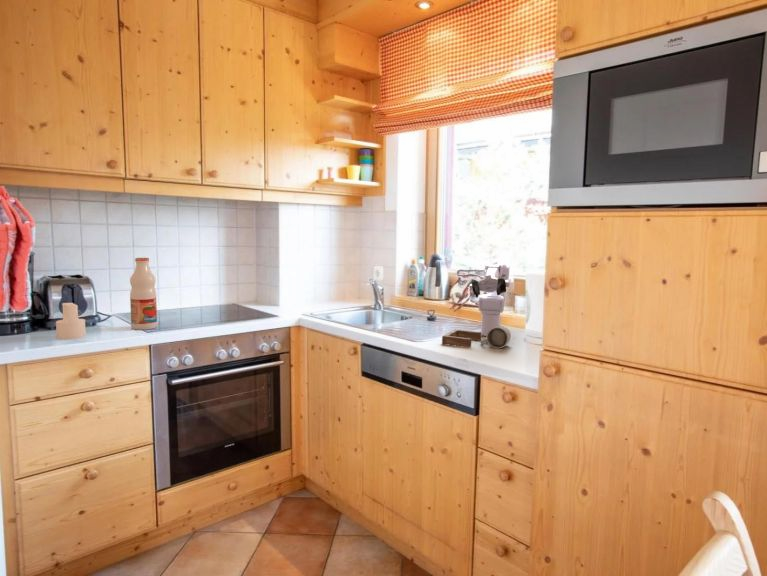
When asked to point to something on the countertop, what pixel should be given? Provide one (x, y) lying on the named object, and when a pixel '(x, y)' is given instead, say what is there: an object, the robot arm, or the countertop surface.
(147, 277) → the fruit juice
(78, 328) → the base with upright slab
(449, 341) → the brown wooden tray
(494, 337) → the ceramic mug
